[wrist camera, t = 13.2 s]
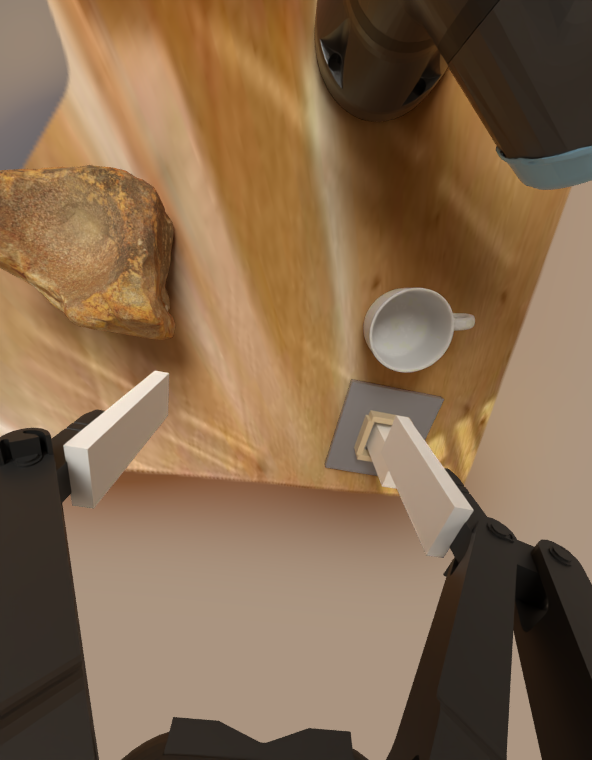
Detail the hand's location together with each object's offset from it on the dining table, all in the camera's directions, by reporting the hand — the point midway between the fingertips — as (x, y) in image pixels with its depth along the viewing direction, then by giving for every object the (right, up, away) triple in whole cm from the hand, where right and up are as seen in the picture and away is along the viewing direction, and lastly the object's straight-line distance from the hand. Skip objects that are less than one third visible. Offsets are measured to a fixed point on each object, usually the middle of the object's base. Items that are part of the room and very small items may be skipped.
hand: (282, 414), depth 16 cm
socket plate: (+16, -7, +35) cm, 39 cm away
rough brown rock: (-22, +20, +23) cm, 37 cm away
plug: (+16, -8, +34) cm, 38 cm away
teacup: (+17, +11, +27) cm, 34 cm away
